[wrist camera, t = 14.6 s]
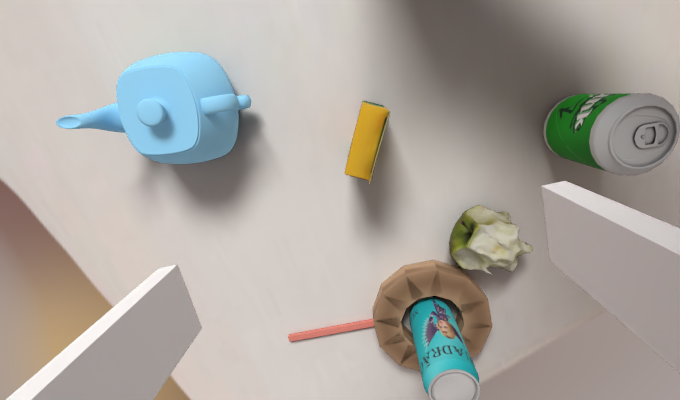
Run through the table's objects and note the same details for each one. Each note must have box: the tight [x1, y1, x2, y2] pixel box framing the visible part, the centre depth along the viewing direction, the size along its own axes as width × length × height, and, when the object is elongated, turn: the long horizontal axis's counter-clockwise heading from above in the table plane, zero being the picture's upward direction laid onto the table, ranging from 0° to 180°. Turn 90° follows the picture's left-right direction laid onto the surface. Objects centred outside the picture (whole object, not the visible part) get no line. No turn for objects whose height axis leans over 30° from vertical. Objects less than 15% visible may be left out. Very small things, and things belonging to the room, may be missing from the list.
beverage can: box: [410, 297, 480, 400], centre depth 45 cm, size 6×6×15 cm
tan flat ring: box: [373, 260, 492, 371], centre depth 51 cm, size 15×15×3 cm
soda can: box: [543, 94, 680, 175], centre depth 39 cm, size 8×8×12 cm
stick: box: [288, 319, 375, 342], centre depth 54 cm, size 1×13×1 cm, turn 104°
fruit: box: [449, 205, 533, 275], centre depth 46 cm, size 9×9×8 cm
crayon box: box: [345, 101, 390, 184], centre depth 41 cm, size 7×3×12 cm, turn 166°
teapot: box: [56, 52, 251, 164], centre depth 42 cm, size 13×11×18 cm
